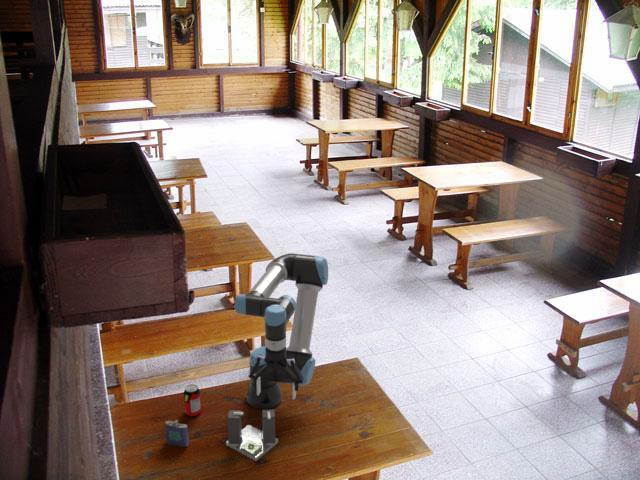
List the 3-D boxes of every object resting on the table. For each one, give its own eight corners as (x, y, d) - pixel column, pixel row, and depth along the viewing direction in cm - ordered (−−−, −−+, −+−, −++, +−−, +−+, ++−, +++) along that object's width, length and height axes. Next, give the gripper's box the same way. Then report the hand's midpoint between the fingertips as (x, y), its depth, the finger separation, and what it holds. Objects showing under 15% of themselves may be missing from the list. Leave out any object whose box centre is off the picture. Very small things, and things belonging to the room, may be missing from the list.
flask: (190, 443, 245) (188, 420, 241) (186, 448, 242) (184, 425, 238) (168, 439, 247) (166, 416, 243) (164, 443, 244) (162, 420, 240)
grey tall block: (262, 436, 246) (262, 408, 242) (274, 435, 247) (273, 407, 242) (263, 445, 241) (263, 417, 237) (275, 444, 242) (275, 417, 237)
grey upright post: (228, 443, 242) (227, 416, 237) (230, 436, 246) (229, 408, 241) (243, 444, 242) (242, 416, 237) (245, 436, 246) (244, 409, 241)
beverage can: (199, 406, 266) (198, 382, 261) (202, 415, 260) (200, 391, 256) (184, 409, 264) (182, 385, 260) (186, 418, 258) (184, 393, 254)
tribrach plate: (225, 445, 244) (224, 438, 243) (248, 426, 254) (248, 420, 253) (256, 462, 236) (255, 455, 235) (279, 442, 246) (279, 435, 245)
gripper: (239, 348, 229) (241, 397, 237) (307, 355, 226) (307, 405, 234) (245, 337, 236) (246, 385, 244) (311, 344, 232) (311, 392, 241)
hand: (276, 395), depth 239 cm, fingers open, 13 cm apart
